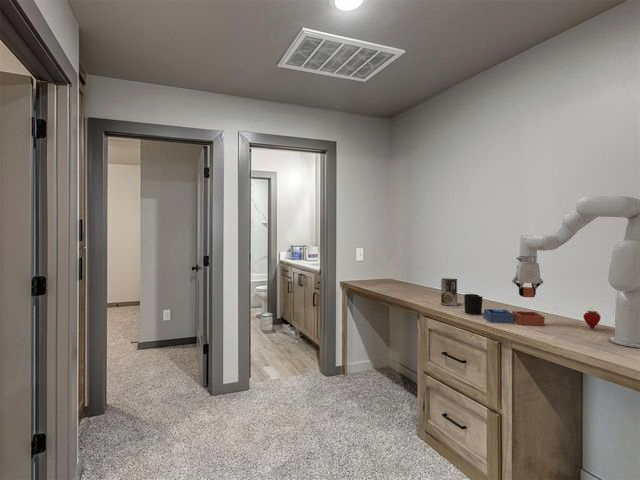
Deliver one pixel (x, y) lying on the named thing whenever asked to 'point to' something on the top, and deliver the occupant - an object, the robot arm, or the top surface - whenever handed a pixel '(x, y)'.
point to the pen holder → (473, 304)
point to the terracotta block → (528, 292)
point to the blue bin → (498, 316)
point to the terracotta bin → (528, 318)
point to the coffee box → (449, 291)
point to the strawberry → (592, 318)
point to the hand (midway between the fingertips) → (527, 295)
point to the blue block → (499, 311)
